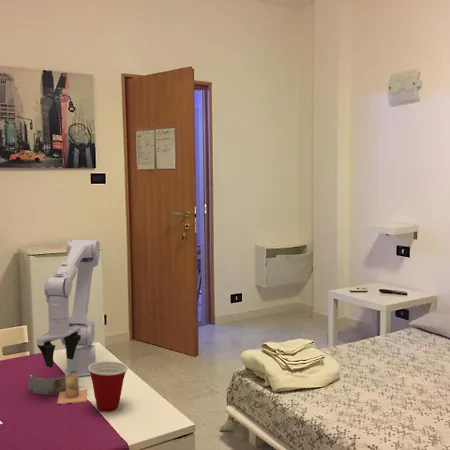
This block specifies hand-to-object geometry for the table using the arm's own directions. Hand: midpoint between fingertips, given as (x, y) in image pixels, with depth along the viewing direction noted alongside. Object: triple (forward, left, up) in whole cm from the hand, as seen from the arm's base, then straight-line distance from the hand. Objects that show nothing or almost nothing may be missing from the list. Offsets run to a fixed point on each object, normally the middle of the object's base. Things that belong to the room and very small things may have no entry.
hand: (60, 362), depth 155 cm
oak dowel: (-3, +4, -9) cm, 10 cm away
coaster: (-4, +4, -9) cm, 11 cm away
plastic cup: (-14, +13, -10) cm, 21 cm away
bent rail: (+2, -1, -9) cm, 10 cm away
